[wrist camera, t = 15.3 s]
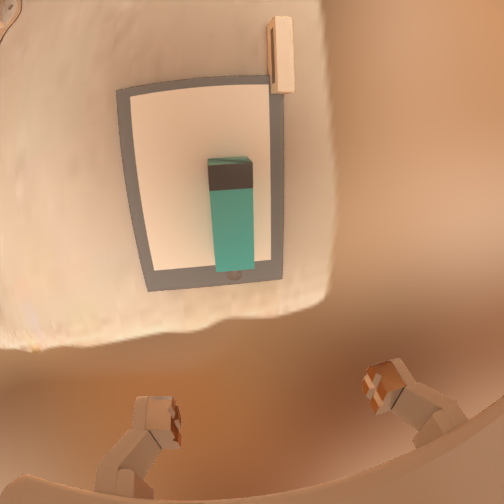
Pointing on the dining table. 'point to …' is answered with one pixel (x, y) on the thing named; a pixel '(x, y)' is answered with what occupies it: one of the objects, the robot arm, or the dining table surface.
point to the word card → (280, 55)
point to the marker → (232, 214)
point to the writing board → (200, 173)
